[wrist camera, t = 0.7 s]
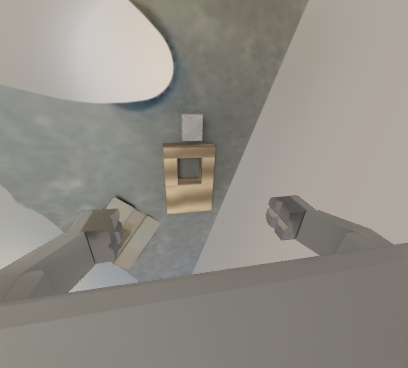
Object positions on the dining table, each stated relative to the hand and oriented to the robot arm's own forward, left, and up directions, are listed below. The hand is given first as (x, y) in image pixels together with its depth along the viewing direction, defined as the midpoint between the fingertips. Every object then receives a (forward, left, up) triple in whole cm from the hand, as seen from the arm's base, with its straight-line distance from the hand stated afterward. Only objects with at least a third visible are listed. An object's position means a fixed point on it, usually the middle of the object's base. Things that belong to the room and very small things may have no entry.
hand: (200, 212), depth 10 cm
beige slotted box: (+29, -14, -36) cm, 49 cm away
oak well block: (+15, +3, -36) cm, 39 cm away
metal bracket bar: (+1, +3, -36) cm, 36 cm away
